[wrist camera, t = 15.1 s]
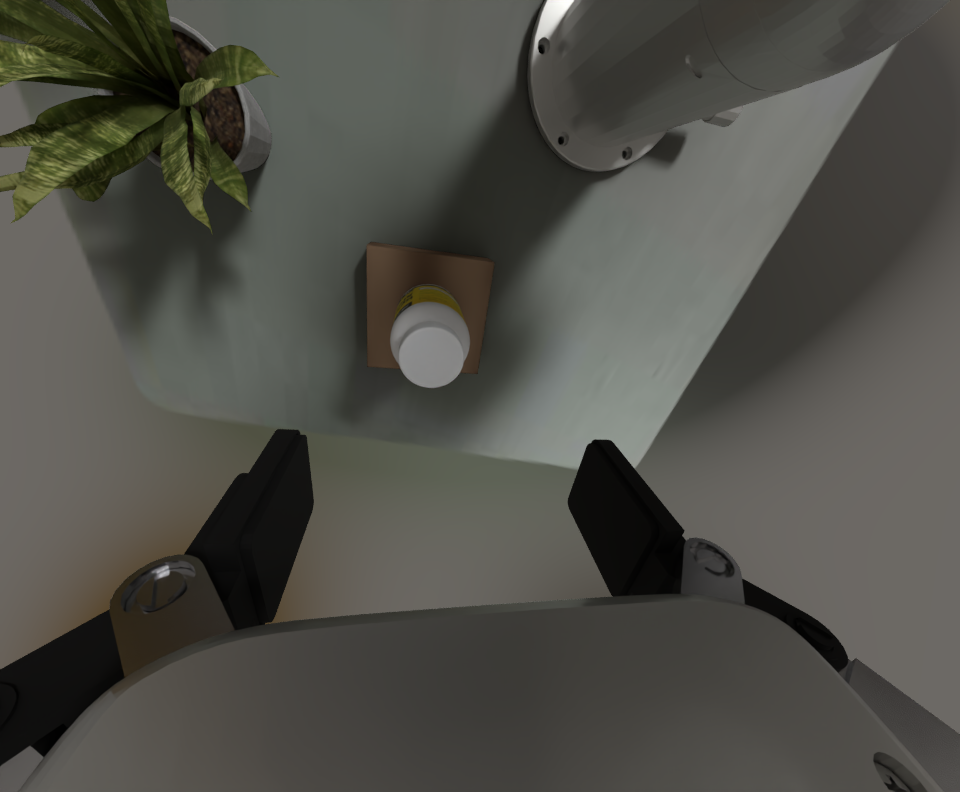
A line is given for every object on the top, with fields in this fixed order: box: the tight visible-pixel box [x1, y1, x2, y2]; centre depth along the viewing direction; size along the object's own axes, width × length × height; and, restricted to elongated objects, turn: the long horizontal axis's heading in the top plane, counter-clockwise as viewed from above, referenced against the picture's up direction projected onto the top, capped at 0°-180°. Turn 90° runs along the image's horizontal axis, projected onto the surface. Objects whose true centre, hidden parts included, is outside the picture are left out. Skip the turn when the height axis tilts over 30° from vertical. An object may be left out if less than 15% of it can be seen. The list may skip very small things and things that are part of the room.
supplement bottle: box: [390, 284, 470, 388], centre depth 25 cm, size 5×5×10 cm
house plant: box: [0, 0, 280, 236], centre depth 16 cm, size 14×14×16 cm
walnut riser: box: [367, 242, 495, 374], centre depth 30 cm, size 10×10×3 cm
